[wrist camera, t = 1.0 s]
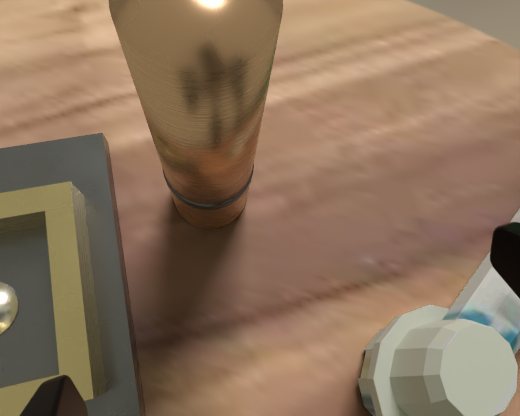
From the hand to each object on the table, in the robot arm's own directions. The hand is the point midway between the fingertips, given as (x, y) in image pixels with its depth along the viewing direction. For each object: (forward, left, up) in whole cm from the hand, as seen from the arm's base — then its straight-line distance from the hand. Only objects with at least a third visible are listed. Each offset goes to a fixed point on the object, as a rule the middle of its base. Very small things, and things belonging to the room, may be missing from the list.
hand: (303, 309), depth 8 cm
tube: (+7, +1, -13) cm, 15 cm away
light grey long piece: (+1, -15, -14) cm, 21 cm away
